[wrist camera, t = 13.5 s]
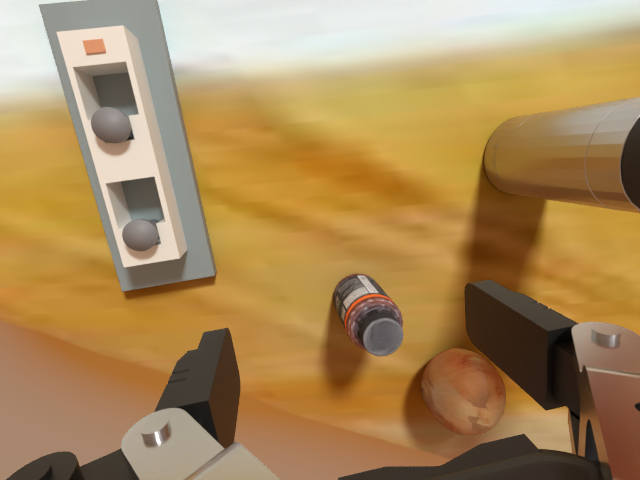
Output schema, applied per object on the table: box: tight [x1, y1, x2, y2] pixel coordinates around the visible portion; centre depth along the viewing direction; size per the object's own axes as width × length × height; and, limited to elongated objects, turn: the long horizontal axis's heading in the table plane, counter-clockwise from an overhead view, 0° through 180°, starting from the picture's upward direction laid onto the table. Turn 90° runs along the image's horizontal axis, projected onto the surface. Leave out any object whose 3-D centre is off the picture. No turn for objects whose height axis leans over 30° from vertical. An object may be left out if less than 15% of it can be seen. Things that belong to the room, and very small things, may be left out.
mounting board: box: [39, 0, 217, 292], centre depth 34 cm, size 10×28×6 cm, turn 8°
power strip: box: [57, 25, 188, 267], centre depth 34 cm, size 5×21×4 cm, turn 8°
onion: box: [420, 348, 506, 435], centre depth 44 cm, size 10×10×10 cm
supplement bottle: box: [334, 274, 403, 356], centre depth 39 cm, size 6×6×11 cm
